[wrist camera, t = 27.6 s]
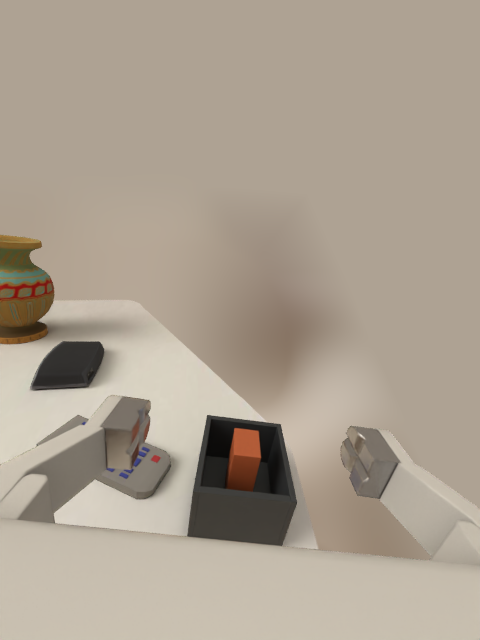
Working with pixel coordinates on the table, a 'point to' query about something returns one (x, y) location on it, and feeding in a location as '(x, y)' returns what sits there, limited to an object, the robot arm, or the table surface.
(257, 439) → the orange rectangular block
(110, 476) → the remote control
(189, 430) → the table surface
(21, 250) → the vase
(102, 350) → the hard drive
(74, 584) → the robot arm
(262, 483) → the trash bin
